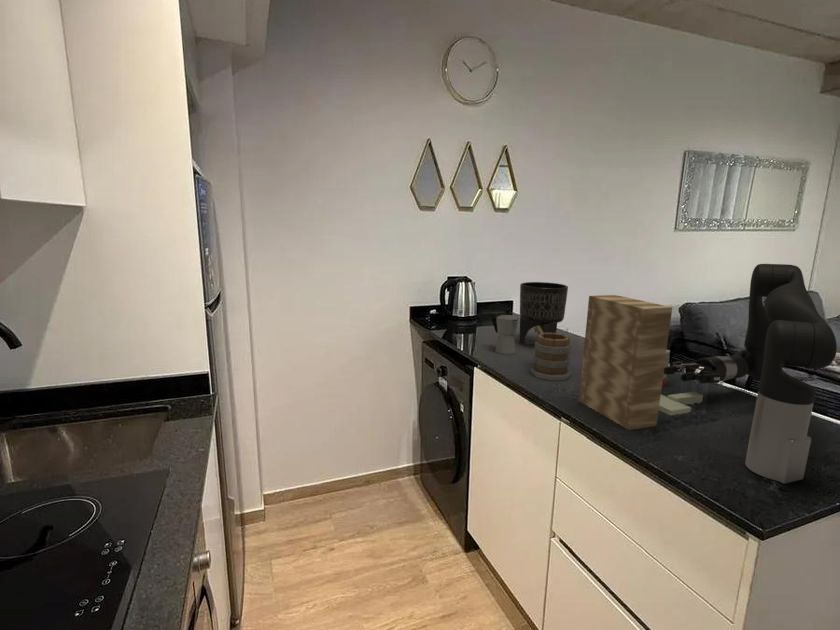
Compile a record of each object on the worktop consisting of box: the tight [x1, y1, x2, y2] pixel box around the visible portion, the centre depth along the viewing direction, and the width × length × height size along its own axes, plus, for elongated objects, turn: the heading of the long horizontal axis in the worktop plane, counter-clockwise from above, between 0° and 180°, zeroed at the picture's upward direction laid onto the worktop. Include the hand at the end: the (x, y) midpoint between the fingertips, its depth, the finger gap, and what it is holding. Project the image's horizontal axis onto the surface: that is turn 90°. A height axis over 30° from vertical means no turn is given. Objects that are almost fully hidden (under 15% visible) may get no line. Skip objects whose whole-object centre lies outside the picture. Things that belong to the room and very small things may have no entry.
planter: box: [519, 281, 569, 344], centre depth 194 cm, size 20×20×26 cm
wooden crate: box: [578, 294, 673, 431], centre depth 124 cm, size 20×9×32 cm, turn 19°
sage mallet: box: [659, 391, 704, 416], centre depth 135 cm, size 12×17×2 cm
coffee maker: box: [491, 308, 520, 356], centre depth 185 cm, size 15×9×18 cm, turn 34°
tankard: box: [530, 326, 572, 382], centre depth 161 cm, size 20×13×15 cm, turn 9°
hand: (673, 374), depth 132 cm, fingers open, 5 cm apart
